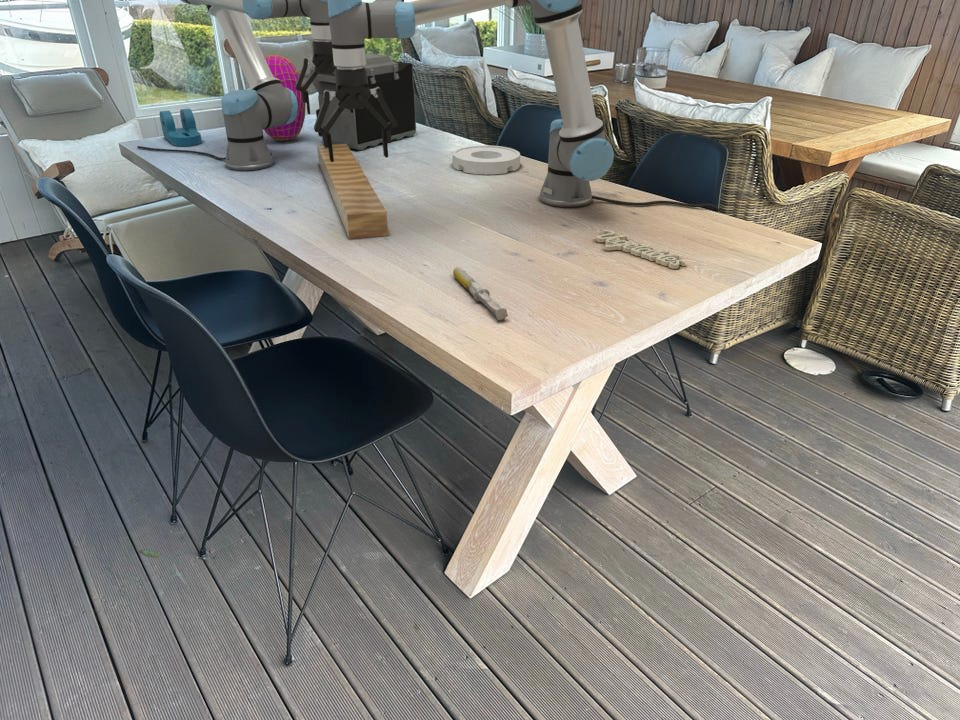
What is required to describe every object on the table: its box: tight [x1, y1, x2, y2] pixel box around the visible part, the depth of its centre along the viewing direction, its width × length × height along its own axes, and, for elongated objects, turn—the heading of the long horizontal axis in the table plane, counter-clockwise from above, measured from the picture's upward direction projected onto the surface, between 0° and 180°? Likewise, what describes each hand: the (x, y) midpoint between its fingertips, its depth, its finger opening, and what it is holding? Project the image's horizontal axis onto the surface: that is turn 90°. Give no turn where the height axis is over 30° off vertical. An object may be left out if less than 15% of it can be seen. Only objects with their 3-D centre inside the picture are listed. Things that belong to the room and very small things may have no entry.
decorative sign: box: [595, 229, 686, 270], centre depth 168 cm, size 26×1×10 cm
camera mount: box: [159, 108, 203, 147], centre depth 259 cm, size 18×10×10 cm, turn 35°
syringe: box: [452, 266, 509, 321], centre depth 145 cm, size 25×4×3 cm, turn 21°
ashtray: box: [451, 144, 521, 176], centre depth 235 cm, size 23×23×4 cm
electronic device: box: [309, 52, 417, 151], centre depth 260 cm, size 37×22×30 cm, turn 144°
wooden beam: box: [316, 144, 389, 240], centre depth 204 cm, size 74×10×6 cm, turn 17°
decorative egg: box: [263, 54, 307, 142], centre depth 257 cm, size 19×19×30 cm
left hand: (330, 112), depth 221 cm, fingers open, 13 cm apart
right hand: (359, 158), depth 172 cm, fingers open, 13 cm apart
